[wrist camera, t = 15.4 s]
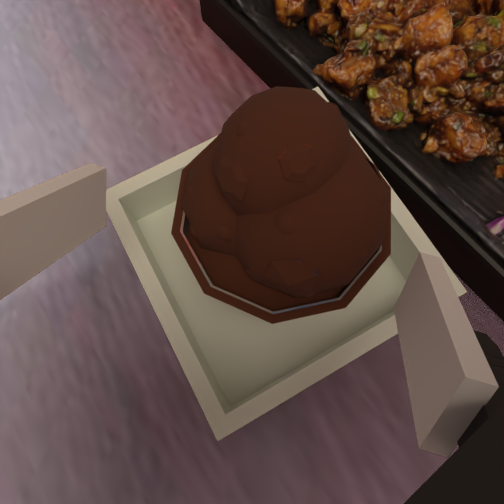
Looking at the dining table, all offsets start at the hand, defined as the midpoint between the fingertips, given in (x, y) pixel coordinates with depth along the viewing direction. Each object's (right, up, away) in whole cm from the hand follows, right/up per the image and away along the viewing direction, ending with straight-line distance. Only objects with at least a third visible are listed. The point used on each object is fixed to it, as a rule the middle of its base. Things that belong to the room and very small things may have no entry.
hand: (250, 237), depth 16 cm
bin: (+2, -1, +13) cm, 13 cm away
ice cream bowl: (+2, -1, +12) cm, 13 cm away
